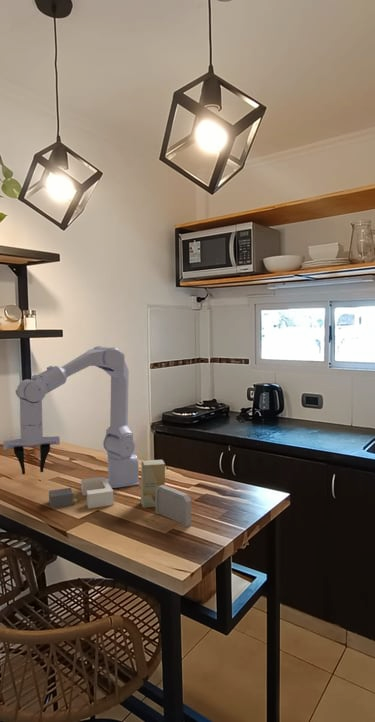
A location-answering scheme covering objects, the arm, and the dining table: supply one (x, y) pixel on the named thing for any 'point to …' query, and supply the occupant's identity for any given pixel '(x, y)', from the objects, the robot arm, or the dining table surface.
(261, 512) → the dining table surface
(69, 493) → the plug
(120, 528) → the dining table surface
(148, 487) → the skincare box
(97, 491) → the socket block
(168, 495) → the light switch
